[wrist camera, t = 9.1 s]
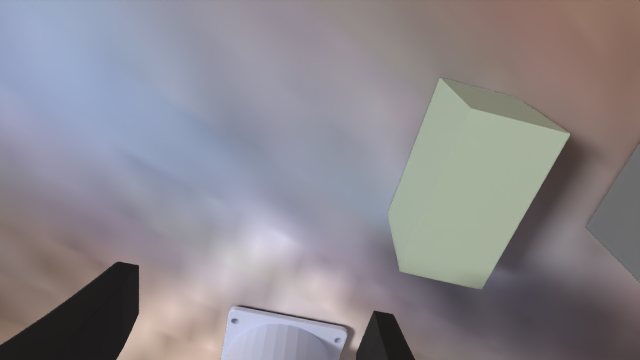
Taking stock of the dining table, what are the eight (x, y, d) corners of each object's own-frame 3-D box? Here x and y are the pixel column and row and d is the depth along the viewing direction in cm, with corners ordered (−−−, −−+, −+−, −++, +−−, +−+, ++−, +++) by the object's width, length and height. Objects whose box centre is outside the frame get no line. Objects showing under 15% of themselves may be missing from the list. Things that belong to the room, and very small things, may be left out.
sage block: (453, 229, 23) (481, 289, 19) (387, 213, 23) (399, 271, 18) (517, 97, 20) (570, 133, 15) (439, 77, 19) (471, 108, 15)
